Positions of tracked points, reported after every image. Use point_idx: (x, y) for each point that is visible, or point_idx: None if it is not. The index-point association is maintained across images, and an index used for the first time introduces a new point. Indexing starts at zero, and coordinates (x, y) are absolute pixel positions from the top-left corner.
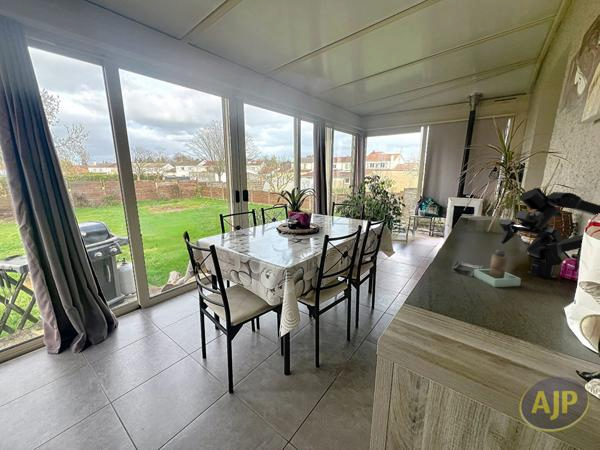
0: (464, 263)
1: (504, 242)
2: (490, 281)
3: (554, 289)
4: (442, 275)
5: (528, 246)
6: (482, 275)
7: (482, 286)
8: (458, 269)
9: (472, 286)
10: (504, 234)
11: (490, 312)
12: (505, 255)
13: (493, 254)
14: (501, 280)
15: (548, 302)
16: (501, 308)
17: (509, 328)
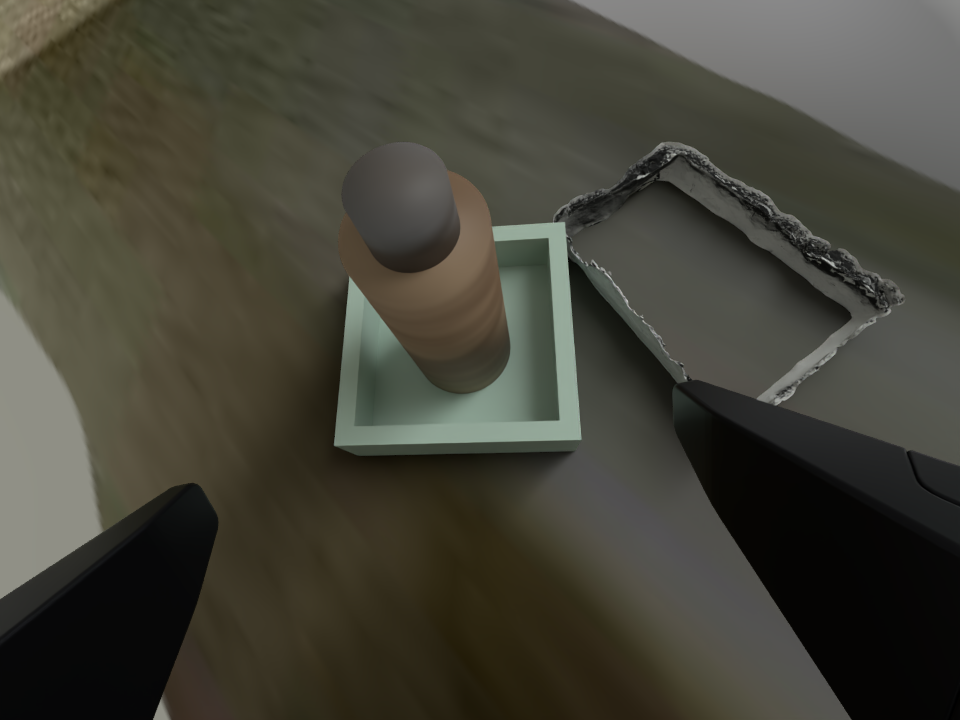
0: (847, 339)
1: (695, 454)
2: None
3: (255, 689)
4: (584, 82)
5: (156, 507)
6: None
7: None
8: (633, 170)
9: None
10: (919, 472)
11: (163, 80)
12: (402, 297)
13: (457, 189)
14: (352, 286)
15: (137, 416)
16: (172, 139)
17: (64, 74)
